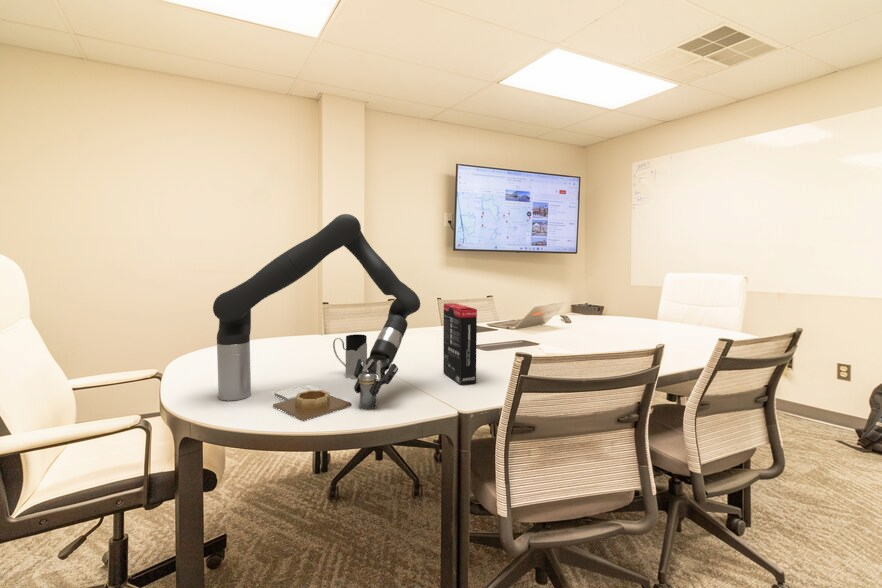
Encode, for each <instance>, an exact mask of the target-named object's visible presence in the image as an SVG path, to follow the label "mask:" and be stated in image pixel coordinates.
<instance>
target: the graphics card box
mask: <svg viewBox="0 0 882 588" xmlns="http://www.w3.org/2000/svg"><path fill="white" fill-rule="evenodd" d="M477 311H478V310H477V308H474V307H470V306H466V305H463V304H460V303H453V302H451V303H450V302H448V303H443V341H442V343H443V363H442V365H443V374H445V375H446V376H447V377H449V378H450V379H452V380H453V381H454V382H456V383H457V384H459V385H460V386H465V385H471V384H476V383H477V341H478V340H477V336H478V334H477V333H478V332H477V331H478V329H477V327H478V326H477V325H478V323H477V322H478V321H477V318H478V312H477Z"/></svg>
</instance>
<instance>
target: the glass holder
mask: <svg viewBox="0 0 882 588" xmlns="http://www.w3.org/2000/svg"><path fill="white" fill-rule="evenodd" d="M337 340H339V341H341V343H342V344H341V345H342V349H343V350H344V351H345V363H344V361H342V360H341V358H340V356H339V355H338V354H337V350H336V347H335V346H336V344H335V342H336V341H337ZM332 348H333V352H334V354H335V357H336V358H337V359H338V361H339V362H340V363H341V364H342V365H343V366H344V367H345V374H344V376H345V377H346V378H345V377H344V378H345V379H348V378H350V379H351V380H358V379H357V378H356V377H355V376H354V372H355V369H356V365H357V361H358V360H359V359H361V360H362V361H363V360H367V359H368V342H367V335H365V334H362V333H361V334H357V333H356V334H348V335H345V342H344V340H343V339H342V338H341V337H336V338H335V339H334V340H333V342H332ZM365 366H366V365H365ZM363 369H364V368H363Z"/></svg>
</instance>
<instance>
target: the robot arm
mask: <svg viewBox="0 0 882 588" xmlns="http://www.w3.org/2000/svg"><path fill="white" fill-rule="evenodd" d="M342 247H344V248H346V249H347V250H348V252H350V253H351V254H352V255H353V257H355V259H356V260H357V261H358V262H359V263H360V265H361V266H362V268H363V269H364V270H365V272H366V273H367V274H368V276H369V277H370V279H371V280H372V282H373V283H374V284H375V285H376V287H377V288H378V289H379V290H380V291H381V292H382V293H383V295H384V296H393V297H394V300H393V301H392V303H391V305H390V307H389V310H388V314H387V319H386V322H385V323H384V326H383V327H382V328H381V331H380V332H379V333H378V335H377V338H376V339H375V341H374V344H373V346H372V347H371V350H370V353H369V357H367V360H363V361H362V360H361V359H359V360H358V361H357V365H356V369H355V372H354V376H355V377H356V378H357V379H356V382H355V384H354V386H353V389H354V392H355V393H356V394H360V383H359V381H360V380H359V377H360V373H362V372H376V376H377V382H376V381H375V383H374V385H373V387H372V389H371V392H370V393H371V394H372V396H376V397H377V395H378V394H379V391H380V390H381V387H382V386H383V385H384V384H385V385H390V383H391V381H392V379H393V378H394V377H395V375H396V374H397V372H399V367H398V366H397V365H396V363H393V362H394V360H395V358H396V355H397V353H398V351H399V348H400V347H401V344H402V340H403V338H404V335H405V334H406V331H407V327H408V326H409V325H408V321H407V320H406V319H407V318H408V316H410V315H413V314H415V313H417V312H418V311H419V309H420V308H421V300H420V297H419V296H418V294H417V293H416V292H415V291H414V290H413V289H412V288H410V287H409V286H408V285H407V284H405V283H404V282H403V281H401V280H400V279H399V278H398V277H397V274H395V272H394V271H393V270H392V268H391V267H390V265H388V264H387V262H385V261H384V259H382V257H381V256H379V254H378V253H377V252H376V251H375V250H374V249H373V248H372V246H371V245H370V244H369V242H368V240H367V239H366V237H365V235H364V234H363V232H362V227H361V222H360V221H359V219H358V218H357V217H355V216H354V215H352V214H348V213H343V214H342V213H341V214H339V215H338V216H336V217H334V219H332V221H331V222H329V223H328V224H327V225H326V226H324V227H323V228H322V229H320V231H318V232H316V233H315V234H314V235H312V236H310V237H309V238H307V239H305V240H302V241H301V242H300V243H297V244H295V245H294V246H293V247H291V248H289V249H288V250H286V251H284V252H283V253H281V254H280V255H278V256H277V257H275V258H274V259H273V260H271V261H270V262H268V263H267V264H266V265H265V266H263V267H262V268H261V269H260V270H258V271H257V272H256V273H255V274H253V275H252V276H251V277H250V278H248V279H247V280H246V281H244V282H241V283H240V284H238V285H236V286H235V287H233V288H231V289H229V290H227V291H225V292H222V293H221V294H219V295H217V297H216V298H215V300H214V302H213V305H212V311H213V313H214V314H213V315H214V316H215V317H216V318H217V319H218V330H217V334H216V350H217V351H216V352H217V353H216V354H217V355H216V356H217V387H218V390H217V391H218V399H219V400H221V401H225V400H227V401H239V400H240V401H241V400H244V399H246V398H249V397H251V395H252V386H251V385H252V384H251V383H252V379H251V378H252V377H251V375H252V373H251V343H250V342H251V339H250V338H251V332H252V331H251V329H252V309H253V308H254V307H255V306H256V305H258V304H259V303H260V302H261V301H263V300H265V299H266V298H268V297H270V296H271V295H274V294H276V293H278V292H281V290H284V289H285V288H287V287H289V286H291V285H292V284H293V283H295V282H297V281H299V280H300V279H301V278H302V277H304V276H306V275H307V274H308V273H309V272H310V271H312V270H313V269H314V268H315V267H316V266H318V265H319V264H320V263H321V262H322V261H323V260H324V259H325V258H326V257H328V256H329V255H330V254H332V253H333V252H335V251H337V250H339V249H340V248H342ZM365 365H366V366H365ZM363 368H364V369H363Z"/></svg>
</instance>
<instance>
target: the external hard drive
mask: <svg viewBox="0 0 882 588" xmlns="http://www.w3.org/2000/svg"><path fill="white" fill-rule="evenodd" d="M309 390H323V389H322V388H320V387H317V386H314V385H311V384H307V385H306V384H305V385H302V386H298V387H293V388H289V389H284V390H281V391H277V392H274V395H275V396H274V395H273V396H274V397H276V396H277V397H276V398H278V397H279V398H278V399H280V398H282V399H281V400H283V399H284V400H283V401H285V400H286V401H287V400H290V399H294V398H295V397H296V395H297V394H298V393H301V392H305V391H309Z"/></svg>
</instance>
